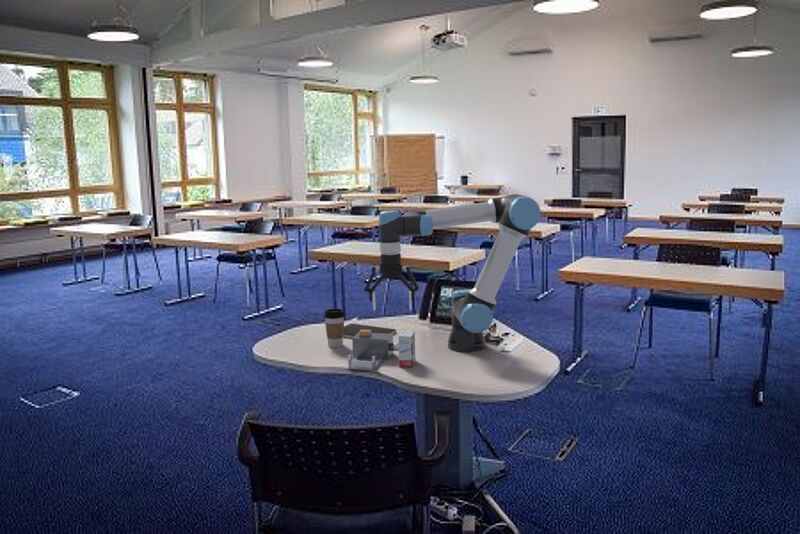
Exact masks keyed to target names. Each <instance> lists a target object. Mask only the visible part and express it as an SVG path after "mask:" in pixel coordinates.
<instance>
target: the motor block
mask: <svg viewBox="0 0 800 534" xmlns="http://www.w3.org/2000/svg"><path fill="white" fill-rule="evenodd" d="M351 340H352V343H351V344H352V359H354V358H355V357H356V356H357V355H360V357H361V359H362V360H372V356H376V361H377V360H378V359H379V357H380V356H383V361H389V360H390V359H391V357H392V356H393V355H394V352H399V342H394V334H383V333H371V330H363V329H361V330H360V331H359V332H358V333H357V334H356V335H355V336H354V337H353V338H351ZM361 359H360V360H361Z"/></svg>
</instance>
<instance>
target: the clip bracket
mask: <svg viewBox="0 0 800 534" xmlns="http://www.w3.org/2000/svg"><path fill="white" fill-rule="evenodd" d="M347 359H348V360H347V361H348V363H347V365H348V369H349V370H360V371H361V370H362V371H364V370H365V371H376V370H377V368H379V366H380V365H381V363H382V362H383V361H384V360H383V356H380V357H379V359H378V360H377V359H376V356H372V359H371V360H361V357H360V355H357V356H356V357H355V358H353V354H348V356H347Z"/></svg>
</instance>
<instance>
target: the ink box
mask: <svg viewBox="0 0 800 534" xmlns="http://www.w3.org/2000/svg"><path fill="white" fill-rule="evenodd" d="M415 334H416V331H415V330H401V332H400V333H399V334H398V343H399V351H398V366H399V368H412V367H413V366H414V364H415V362H416V335H415Z"/></svg>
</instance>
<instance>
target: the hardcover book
mask: <svg viewBox="0 0 800 534" xmlns="http://www.w3.org/2000/svg"><path fill="white" fill-rule="evenodd" d="M361 329H363V330H371V333H383V334H393V335H394V334H397V329H396V328H389V327H382V326H376V325H375V326H374V325H368V324H367V325H366V324H360V323H358V324H357V323H353V322H352V323H349V324H347V325H344V331H343V338H348V339H352V338H353V337H354V336H355V335H356V334H357V333H358V332H359V331H360V330H361Z"/></svg>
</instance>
